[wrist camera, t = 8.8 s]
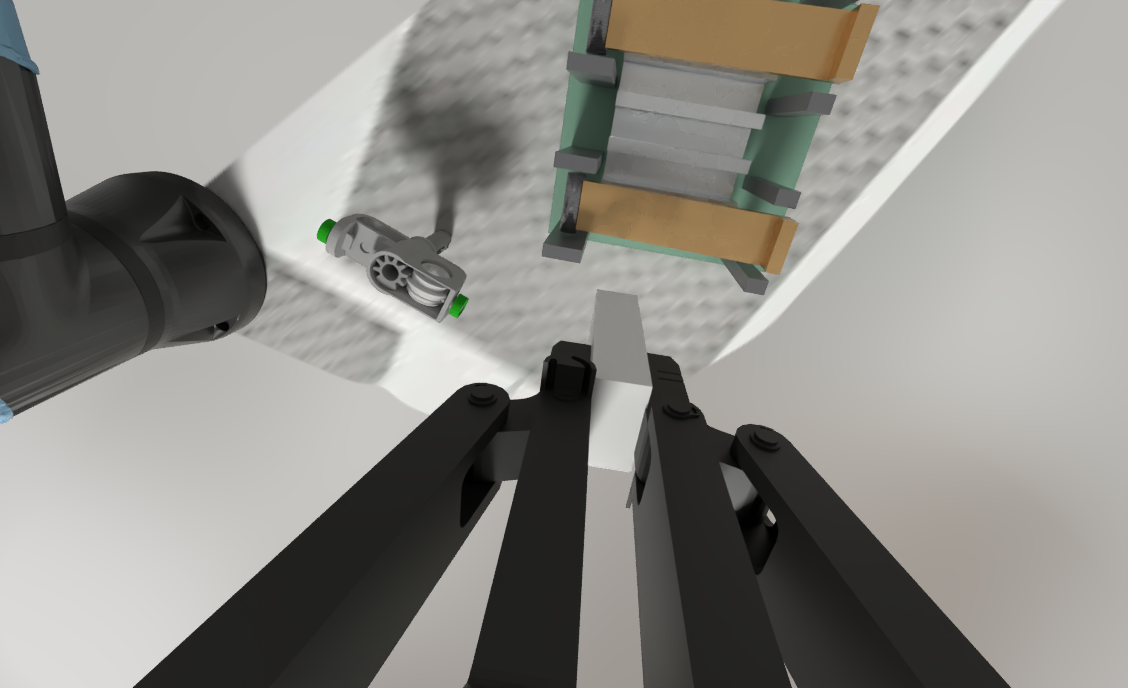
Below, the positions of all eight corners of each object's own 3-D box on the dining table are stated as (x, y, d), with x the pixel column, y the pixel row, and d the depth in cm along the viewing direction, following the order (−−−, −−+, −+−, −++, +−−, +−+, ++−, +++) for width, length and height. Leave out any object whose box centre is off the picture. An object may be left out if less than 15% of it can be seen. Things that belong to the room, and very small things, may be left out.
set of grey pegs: (559, 229, 36) (541, 257, 28) (596, -27, 29) (586, -82, 21) (735, 260, 35) (766, 298, 28) (817, 7, 28) (888, -36, 21)
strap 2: (561, 227, 31) (553, 234, 29) (569, 171, 29) (562, 174, 27) (769, 269, 29) (777, 279, 27) (790, 211, 28) (800, 217, 25)
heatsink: (594, 228, 36) (591, 239, 32) (636, -10, 29) (638, -29, 25) (710, 249, 35) (719, 262, 32) (780, 13, 29) (802, -3, 25)
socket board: (550, 229, 37) (548, 233, 36) (586, -31, 30) (585, -38, 29) (759, 266, 37) (764, 272, 35) (849, 10, 29) (860, 5, 28)
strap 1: (587, 53, 26) (580, 46, 24) (598, -25, 25) (592, -40, 23) (833, 91, 25) (849, 87, 23) (862, 10, 23) (882, -3, 21)
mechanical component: (393, 191, 38) (321, 212, 29) (503, 256, 39) (467, 295, 30) (381, 223, 39) (309, 252, 30) (488, 285, 40) (449, 331, 31)
